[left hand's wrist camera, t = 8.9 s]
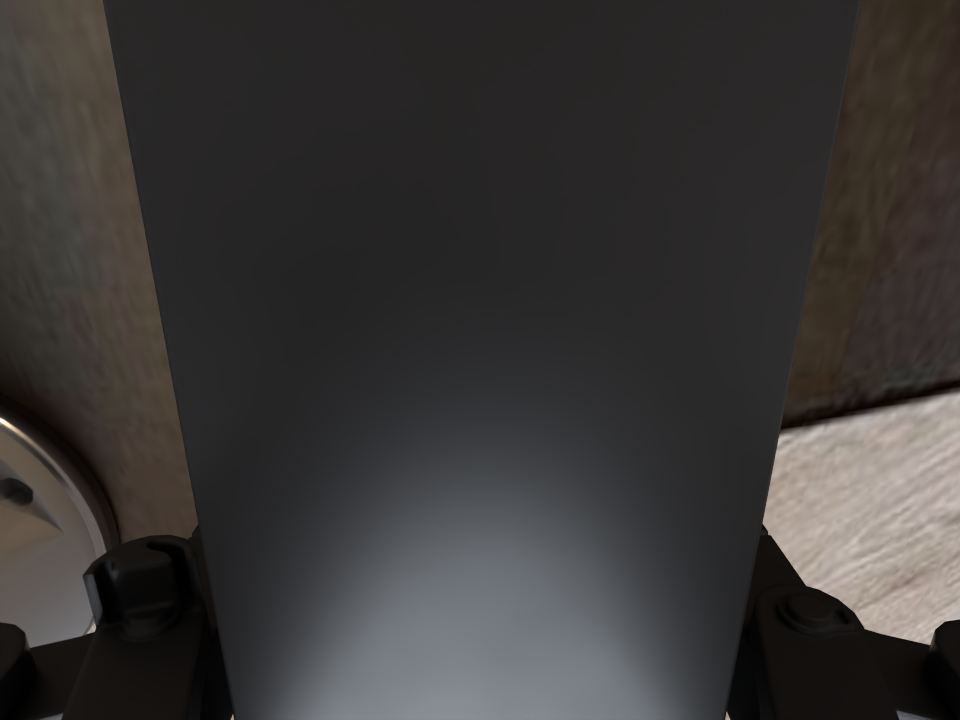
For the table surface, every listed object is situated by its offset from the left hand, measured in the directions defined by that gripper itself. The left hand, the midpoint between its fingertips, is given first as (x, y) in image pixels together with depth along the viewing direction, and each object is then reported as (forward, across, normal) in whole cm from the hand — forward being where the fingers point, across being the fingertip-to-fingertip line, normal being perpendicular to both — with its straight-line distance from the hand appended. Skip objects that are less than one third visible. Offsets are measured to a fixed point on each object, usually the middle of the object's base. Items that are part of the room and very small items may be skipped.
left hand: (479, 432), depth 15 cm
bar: (0, 0, -8) cm, 8 cm away
